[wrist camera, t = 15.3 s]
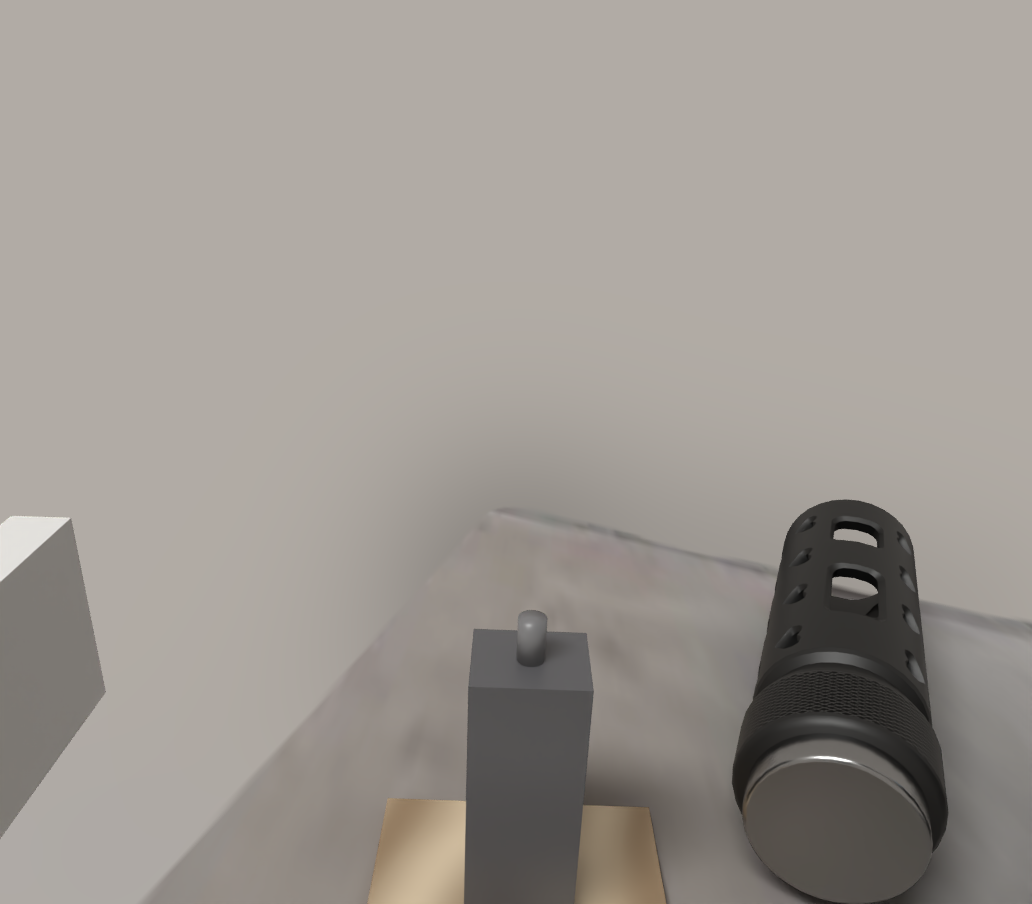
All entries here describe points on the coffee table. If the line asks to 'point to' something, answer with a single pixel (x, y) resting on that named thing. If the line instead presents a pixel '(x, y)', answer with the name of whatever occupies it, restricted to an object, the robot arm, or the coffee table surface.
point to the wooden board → (441, 855)
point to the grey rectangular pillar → (526, 763)
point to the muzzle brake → (843, 718)
